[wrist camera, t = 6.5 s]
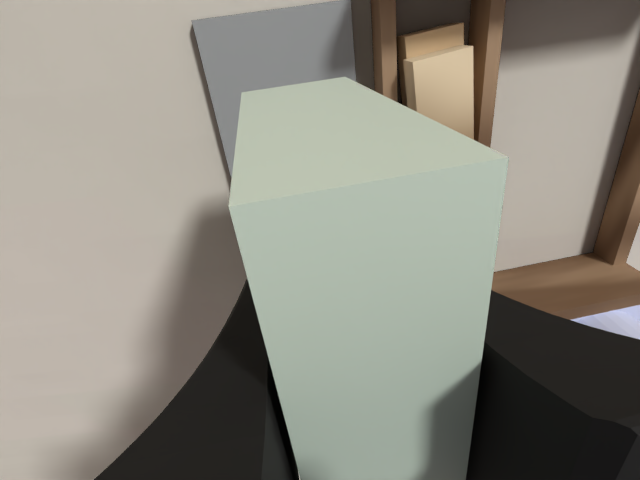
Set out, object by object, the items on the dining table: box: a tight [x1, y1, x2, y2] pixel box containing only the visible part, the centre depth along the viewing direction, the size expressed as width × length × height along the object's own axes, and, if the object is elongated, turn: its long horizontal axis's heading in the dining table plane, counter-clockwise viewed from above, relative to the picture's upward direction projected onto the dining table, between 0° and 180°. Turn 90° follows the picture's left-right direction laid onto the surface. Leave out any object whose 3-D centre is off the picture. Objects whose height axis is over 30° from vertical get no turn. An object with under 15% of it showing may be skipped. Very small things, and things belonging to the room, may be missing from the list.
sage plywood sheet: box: [228, 77, 509, 480], centre depth 10 cm, size 9×3×8 cm, turn 7°
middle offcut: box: [396, 23, 464, 107], centre depth 18 cm, size 10×2×1 cm, turn 12°
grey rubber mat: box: [192, 0, 356, 180], centre depth 18 cm, size 14×6×1 cm, turn 7°
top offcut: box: [403, 45, 474, 140], centre depth 17 cm, size 9×2×1 cm, turn 13°
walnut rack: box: [371, 0, 640, 320], centre depth 17 cm, size 17×14×4 cm
